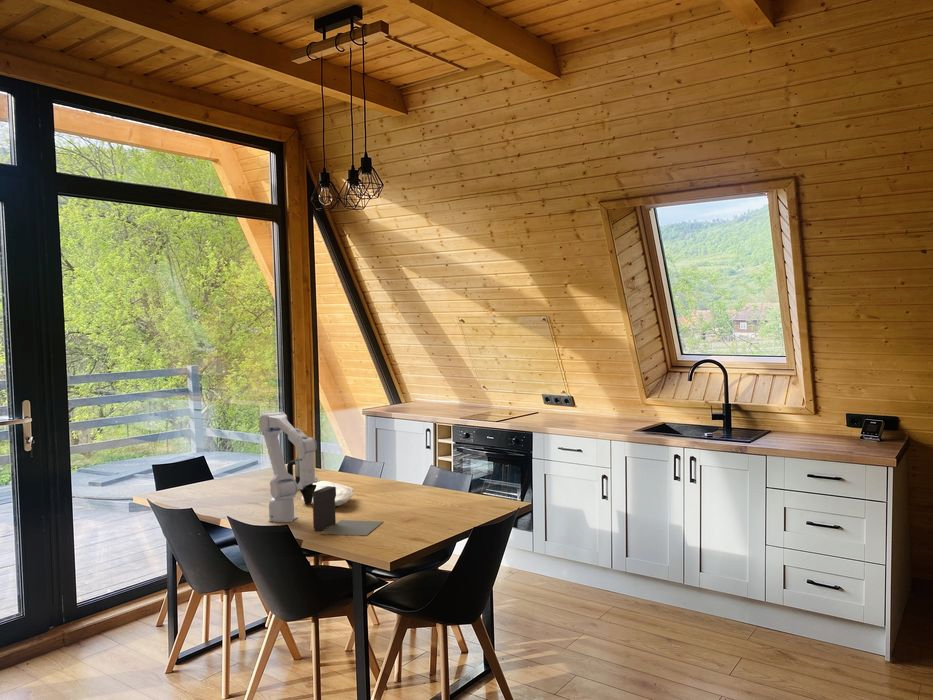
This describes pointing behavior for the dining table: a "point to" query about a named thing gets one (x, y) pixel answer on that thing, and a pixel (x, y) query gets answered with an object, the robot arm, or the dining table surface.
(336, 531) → the placemat
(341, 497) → the crumpled cloth
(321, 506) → the calculator
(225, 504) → the dining table surface
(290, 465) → the milk frother
